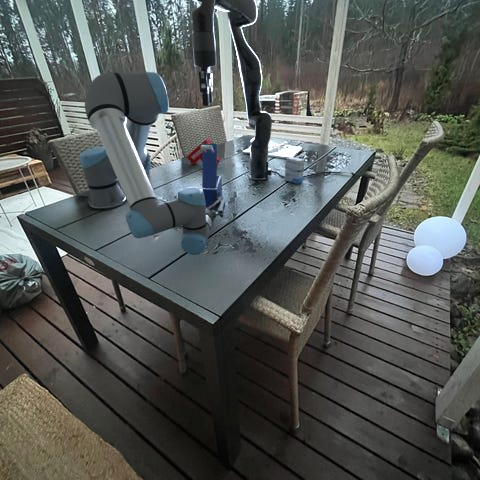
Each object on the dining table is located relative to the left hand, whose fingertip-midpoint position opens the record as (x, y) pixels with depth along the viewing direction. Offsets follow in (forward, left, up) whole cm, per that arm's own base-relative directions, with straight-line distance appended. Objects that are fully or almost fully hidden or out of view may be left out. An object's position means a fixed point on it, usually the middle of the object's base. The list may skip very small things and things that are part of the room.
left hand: (211, 195), depth 113 cm
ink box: (+38, +35, -6) cm, 52 cm away
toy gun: (-14, +62, -6) cm, 64 cm away
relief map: (+30, +94, -6) cm, 99 cm away
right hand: (0, +5, +33) cm, 34 cm away
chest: (0, +5, -6) cm, 8 cm away
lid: (0, +1, +12) cm, 12 cm away
